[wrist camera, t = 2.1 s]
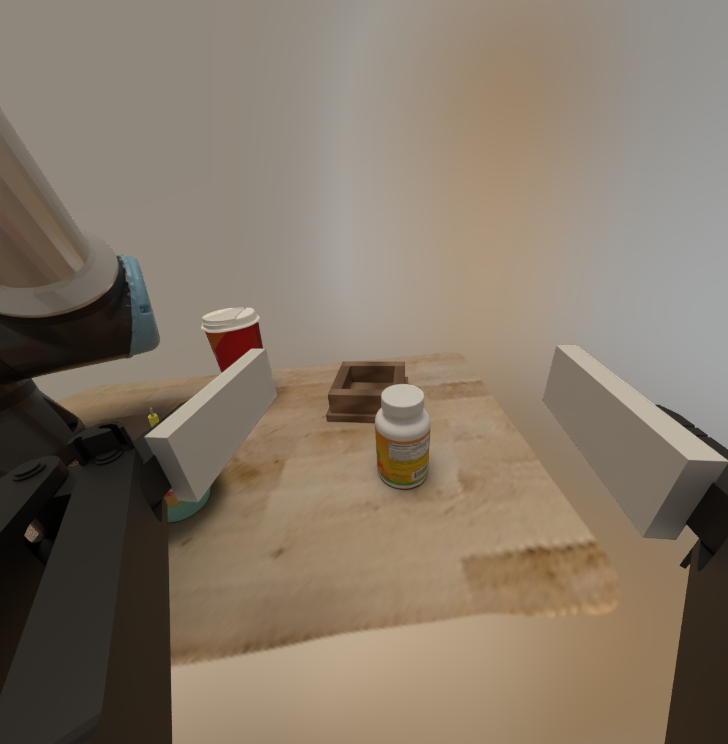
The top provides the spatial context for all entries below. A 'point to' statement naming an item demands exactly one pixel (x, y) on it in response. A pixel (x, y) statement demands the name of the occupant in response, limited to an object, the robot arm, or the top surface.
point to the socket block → (362, 389)
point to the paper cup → (232, 334)
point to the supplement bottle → (402, 436)
